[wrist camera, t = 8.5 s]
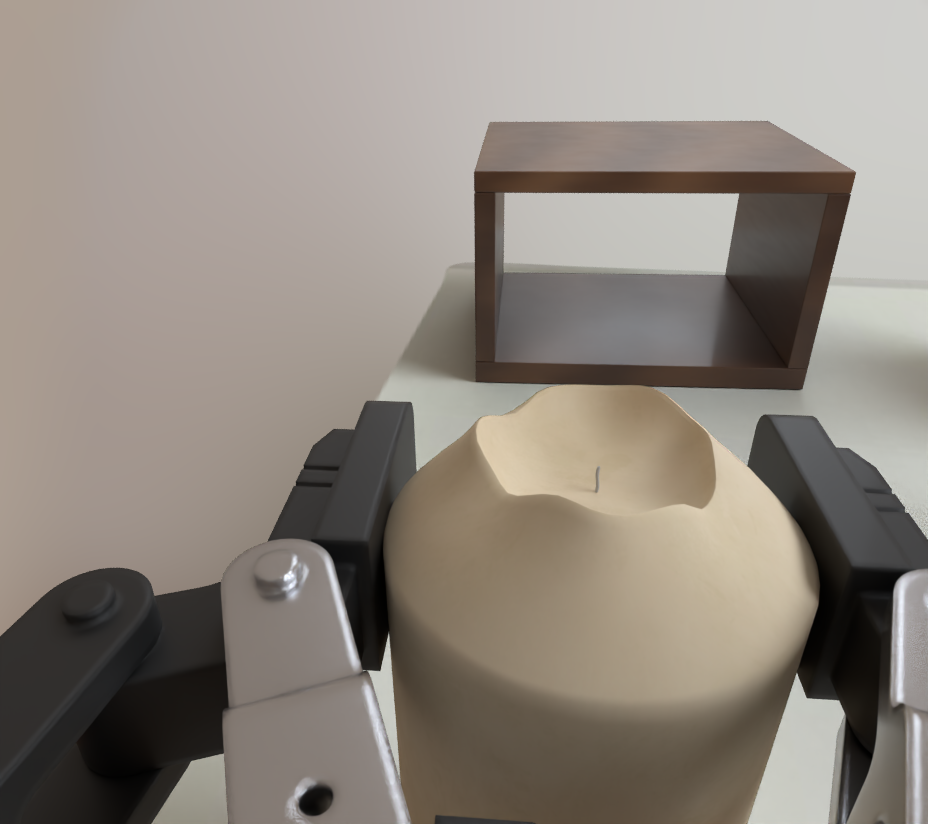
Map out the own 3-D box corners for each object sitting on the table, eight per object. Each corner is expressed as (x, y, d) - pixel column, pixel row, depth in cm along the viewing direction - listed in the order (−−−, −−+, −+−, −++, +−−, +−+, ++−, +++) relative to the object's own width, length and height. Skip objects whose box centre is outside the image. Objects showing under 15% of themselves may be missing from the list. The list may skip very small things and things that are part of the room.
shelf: (475, 382, 39) (473, 171, 34) (488, 288, 51) (489, 121, 46) (802, 389, 38) (857, 171, 32) (737, 292, 50) (768, 120, 44)
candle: (710, 1117, 11) (915, 649, 6) (366, 1007, 12) (293, 540, 7) (702, 783, 16) (812, 361, 11) (453, 727, 17) (446, 324, 12)
